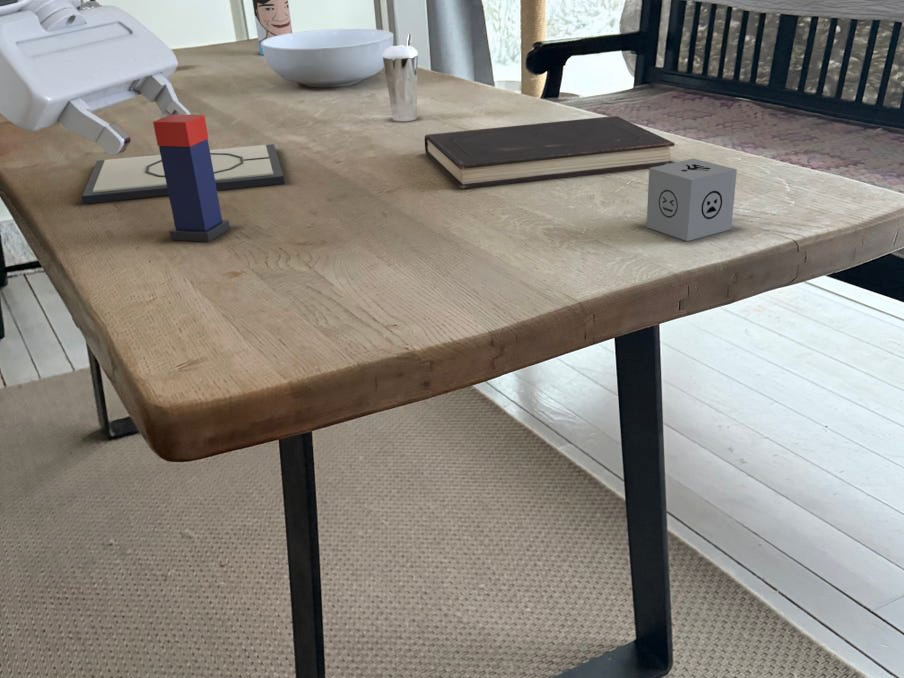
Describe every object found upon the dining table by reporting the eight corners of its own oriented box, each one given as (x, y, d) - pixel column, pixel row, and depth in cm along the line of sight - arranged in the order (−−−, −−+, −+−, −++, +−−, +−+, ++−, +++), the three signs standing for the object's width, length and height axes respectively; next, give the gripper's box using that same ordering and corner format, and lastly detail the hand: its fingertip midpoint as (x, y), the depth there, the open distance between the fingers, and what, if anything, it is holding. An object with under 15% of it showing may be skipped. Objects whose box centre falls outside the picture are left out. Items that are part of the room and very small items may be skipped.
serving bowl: (240, 87, 153) (233, 41, 150) (337, 68, 167) (333, 26, 163) (326, 99, 141) (320, 49, 138) (423, 77, 155) (420, 31, 151)
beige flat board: (83, 204, 95) (81, 193, 95) (98, 167, 109) (96, 157, 108) (284, 183, 99) (283, 173, 99) (275, 150, 113) (273, 141, 112)
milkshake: (430, 115, 128) (425, 34, 123) (412, 123, 123) (406, 40, 118) (400, 113, 129) (394, 34, 124) (381, 121, 125) (374, 39, 120)
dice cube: (731, 229, 80) (736, 169, 78) (687, 241, 78) (691, 179, 76) (689, 216, 84) (693, 158, 81) (646, 227, 82) (649, 168, 79)
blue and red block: (170, 239, 84) (146, 122, 79) (193, 227, 87) (171, 113, 82) (209, 242, 83) (186, 123, 78) (230, 228, 86) (210, 113, 81)
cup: (261, 56, 185) (248, -31, 177) (259, 51, 190) (247, -32, 183) (296, 53, 186) (285, -33, 178) (293, 49, 192) (282, -35, 184)
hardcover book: (673, 165, 100) (674, 142, 98) (460, 189, 95) (459, 165, 94) (613, 134, 113) (614, 114, 112) (425, 154, 108) (423, 133, 107)
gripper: (87, 27, 89) (199, 135, 92) (-78, 61, 73) (65, 192, 75) (116, -28, 86) (232, 86, 88) (-49, -5, 69) (100, 135, 72)
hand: (154, 135), depth 82 cm, fingers open, 8 cm apart
